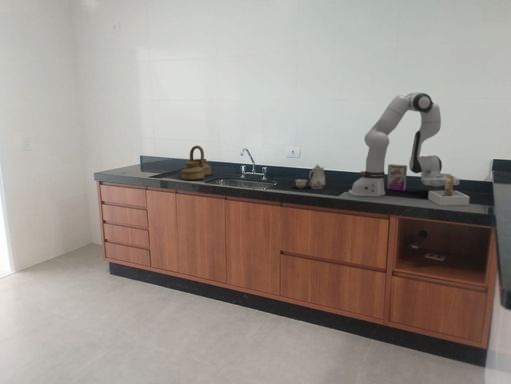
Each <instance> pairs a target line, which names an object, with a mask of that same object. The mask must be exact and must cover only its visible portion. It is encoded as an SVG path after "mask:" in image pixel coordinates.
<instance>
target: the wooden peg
mask: <svg viewBox="0 0 511 384" xmlns="http://www.w3.org/2000/svg"><path fill="white" fill-rule="evenodd" d="M454 177H455V176H453V175H452V176H446V183H445V186H444V191H445V194H444V196H452V191H454V185H453V181H454Z"/></svg>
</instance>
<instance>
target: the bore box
mask: <svg viewBox="0 0 511 384" xmlns="http://www.w3.org/2000/svg"><path fill="white" fill-rule="evenodd" d="M444 194H445V190H429V191H428V194H427V195H428V196H427V200H429V201H431V202H433V203H434V204H436V205H438V206H441V207H442V206H445V207H446V206H469V205H470V196H469V195H467V194H464V193H463V192H460V191H458V190H453V191H452V196H444Z"/></svg>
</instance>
